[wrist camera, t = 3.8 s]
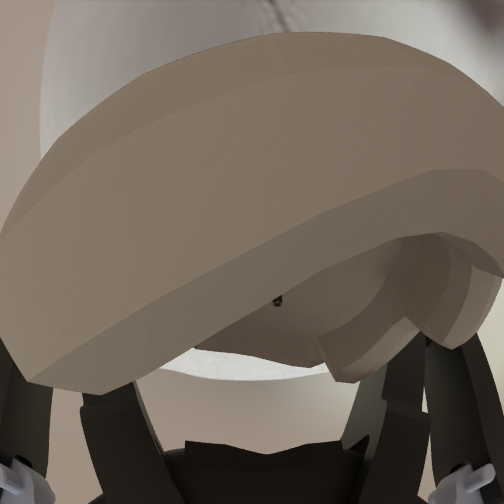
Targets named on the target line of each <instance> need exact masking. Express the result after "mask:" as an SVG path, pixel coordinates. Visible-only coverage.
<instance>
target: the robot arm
mask: <svg viewBox="0 0 504 504" xmlns="http://www.w3.org/2000/svg"><path fill="white" fill-rule="evenodd" d="M424 388H425V394H426V401H427V409H428V413H425V412H422V401H423V390H424ZM52 394H53V387H48V386H44V385H39V384H35V383H31V382H27V381H26V379H25V378H24V376H23V375H22V373H21V371H20V370H19V368H18V367H17V365H16V363H15V362H14V360H13V358H12V357H11V355H10V353H9V352H8V350H7V348H6V346H5V345H4V343H3V341H2V339H1V337H0V504H54V503H55V494H54V493H53V491H52V490H51V488H50V486H49V484H48V482H47V481H46V480H45V478H46V473H47V465H48V453H49V428H50V414H51V403H52ZM82 395H83V402H84V405H83V406H82V407H81V408H80V417H81V423H82V427H83V431H84V435H85V439H86V442H87V446H88V450H89V453H90V456H91V460H92V463H93V466H94V469H95V472H96V475H97V478H98V480H99V483H100V486H101V488H102V491H103V493H102V494H101V495H100V496H98V497H97V498H95V499H94V500H93V501H91V502H90V503H88V504H428V503H429V504H504V415H503V411H502V407H501V403H500V399H499V395H498V392H497V388H496V385H495V382H494V378H493V375H492V372H491V370H490V367H489V364H488V361H487V358H486V355H485V352H484V350H483V347H482V345H481V342H480V340H479V337H478V335H477V332H476V333H475V334H474V335H473V336H472V337H471V338H470V339H469V340H468V341H467V342H465V343H464V344H462V345H460V346H458V347H456V348H454V349H452V350H451V349H449V348H447V347H444V346H442V345H440V344H438V343H436V342H435V341H434V340H432V339H431V338H429V337H428V336H426V335H425V334H423V333H422V332H421V331H419V332H418V333H417V334H416V335H415V336H414V338H413V339H412V340H411V341H410V342H409V343H408V344H407V345H406V346H405V347H404V348H403V349H402V350H401V351H399V352H398V353H397V354H396V355H395V356H394V357H393V358H392V359H391V360H390V361H389V362H387V363H386V364H385V365H384V366H382V367H381V368H380V369H378V370H377V371H376V372H374V373H373V374H371V375H370V376H368V377H366V378H364V379H362V380H361V381H360V384H359V388H358V391H357V394H356V397H355V401H354V404H353V407H352V410H351V413H350V416H349V419H348V422H347V424H346V427H345V430H344V433H343V435H342V437H341V439H340V440H339V441H331V442H322V443H311V444H305V445H301V446H298V447H295V448H291V449H288V450H284V451H281V452H277V453H273V454H261V453H256V452H252V451H248V450H244V449H240V448H237V447H233V446H229V445H226V444H213V443H212V444H211V443H202V442H193V441H185V448H182V449H175V450H169V451H166V452H164V450H163V448H162V446H161V444H160V442H159V440H158V438H157V435H156V433H155V431H154V429H153V426H152V424H151V421H150V419H149V416H148V414H147V411H146V408H145V406H144V403H143V400H142V398H141V395H140V392H139V389H138V386H137V384H136V380H135V381H132V382H130V383H128V384H126V385H124V386H121V387H119V388H117V389H115V390H112V391H110V392H108V393H105V394H103V395H95V394H88V393H82ZM429 434H430V440H431V456H432V457H431V458H432V470H433V476H434V481H435V485H436V490H435V491H433V492H432V493H431V494H430V495H429V497H428V503H427V502H426V501H424V500H423V499H421V498H420V497H419V496H417V494H418V491H419V487H420V483H421V478H422V474H423V469H424V464H425V459H426V454H427V447H428V441H429Z"/></svg>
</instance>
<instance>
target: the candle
mask: <svg viewBox="0 0 504 504" xmlns="http://www.w3.org/2000/svg"><path fill="white" fill-rule="evenodd" d="M503 278H504V107H503V106H502V105H501V104H500V103H499V102H498V101H497V100H495V99H494V98H493V97H492V96H491V95H490V94H489V93H488V92H487V91H486V90H485V89H483V88H482V87H481V86H480V85H478V84H477V83H476V82H475V81H473V80H472V79H471V78H469V77H468V76H467V75H465V74H464V73H463V72H461V71H460V70H458V69H457V68H456V67H454V66H453V65H451V64H449V63H447V62H445V61H443V60H441V59H439V58H437V57H435V56H432V55H430V54H428V53H425V52H423V51H421V50H418V49H416V48H413V47H410V46H408V45H405V44H402V43H400V42H397V41H394V40H391V39H388V38H385V37H378V36H370V35H361V34H349V33H331V32H292V33H273V34H268V35H263V36H258V37H253V38H249V39H245V40H240V41H236V42H233V43H229V44H225V45H222V46H218V47H215V48H211V49H208V50H205V51H202V52H199V53H196V54H193V55H190V56H187V57H184V58H182V59H179V60H176V61H174V62H171V63H169V64H166V65H164V66H161V67H159V68H156V69H154V70H152V71H150V72H147V73H145V74H143V75H141V76H139V77H138V78H136V79H135V80H133V81H132V82H130V83H128V84H127V85H125V86H124V87H122V88H121V89H120V90H118V91H117V92H115V93H114V94H112V95H111V96H110V97H108V98H107V99H105V100H104V101H103V102H101V103H100V104H99V105H97V106H96V107H95V108H94V109H92V110H91V111H90V112H88V113H87V114H86V115H85V116H83V117H82V118H81V119H80V120H79V121H77V122H76V123H75V124H74V125H73V126H72V127H70V128H69V129H68V130H67V131H66V132H65V133H64V134H63V135H61V136H60V137H59V138H58V139H57V140H56V142H55V143H54V144H53V145H52V147H51V148H50V149H49V151H48V152H47V153H46V155H45V156H44V157H43V159H42V160H41V162H40V163H39V165H38V166H37V168H36V169H35V170H34V172H33V173H32V175H31V177H30V178H29V179H28V181H27V183H26V184H25V186H24V187H23V189H22V191H21V192H20V194H19V196H18V197H17V199H16V201H15V203H14V205H13V207H12V209H11V211H10V213H9V215H8V217H7V219H6V221H5V223H4V226H3V228H2V230H1V233H0V337H1V339H2V341H3V343H4V345H5V346H6V348H7V350H8V352H9V353H10V355H11V357H12V358H13V360H14V362H15V363H16V365H17V367H18V368H19V370H20V371H21V373H22V375H23V376H24V378H25V379H26V381H27V382H31V383H35V384H39V385H44V386H48V387H53V388H58V389H64V390H70V391H75V392H81V393H88V394H95V395H103V394H105V393H108V392H110V391H112V390H115V389H117V388H119V387H121V386H124V385H126V384H128V383H130V382H132V381H135V380H137V379H139V378H141V377H143V376H145V375H147V374H148V373H150V372H152V371H154V370H156V369H157V368H159V367H161V366H162V365H164V364H166V363H168V362H169V361H171V360H173V359H174V358H176V357H178V356H179V355H181V354H183V353H184V352H186V351H188V350H189V349H191V348H193V347H194V348H195V349H199V350H207V351H216V352H225V353H236V354H242V355H248V356H254V357H258V358H262V359H266V360H270V361H274V362H278V363H282V364H286V365H290V366H297V367H305V368H311V367H314V366H316V365H319V364H322V363H324V362H325V364H326V365H327V367H328V369H329V371H330V372H331V374H332V376H333V378H334V379H335V381H336V382H345V383H356V382H358V381H360V380H362V379H364V378H366V377H368V376H370V375H371V374H373V373H374V372H376V371H377V370H378V369H380V368H381V367H382V366H384V365H385V364H386V363H387V362H389V361H390V360H391V359H392V358H393V357H394V356H395V355H396V354H397V353H398V352H399V351H401V350H402V349H403V348H404V347H405V346H406V345H407V344H408V343H409V342H410V341H411V340H412V339H413V338H414V336H415V335H416V334H417V333H418V332H419V331H421V332H422V333H423V334H425V335H426V336H428V337H429V338H431V339H432V340H434V341H435V342H436V343H438V344H440V345H442V346H444V347H447V348H449V349H451V350H452V349H454V348H456V347H458V346H460V345H462V344H464V343H465V342H467V341H468V340H469V339H470V338H471V337H472V336H473V335H474V334H475V333H476V332H477V331H478V330H479V328H480V326H481V325H482V323H483V322H484V320H485V318H486V316H487V315H488V313H489V311H490V309H491V307H492V305H493V303H494V301H495V298H496V296H497V293H498V291H499V289H500V286H501V283H502V279H503Z"/></svg>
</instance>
